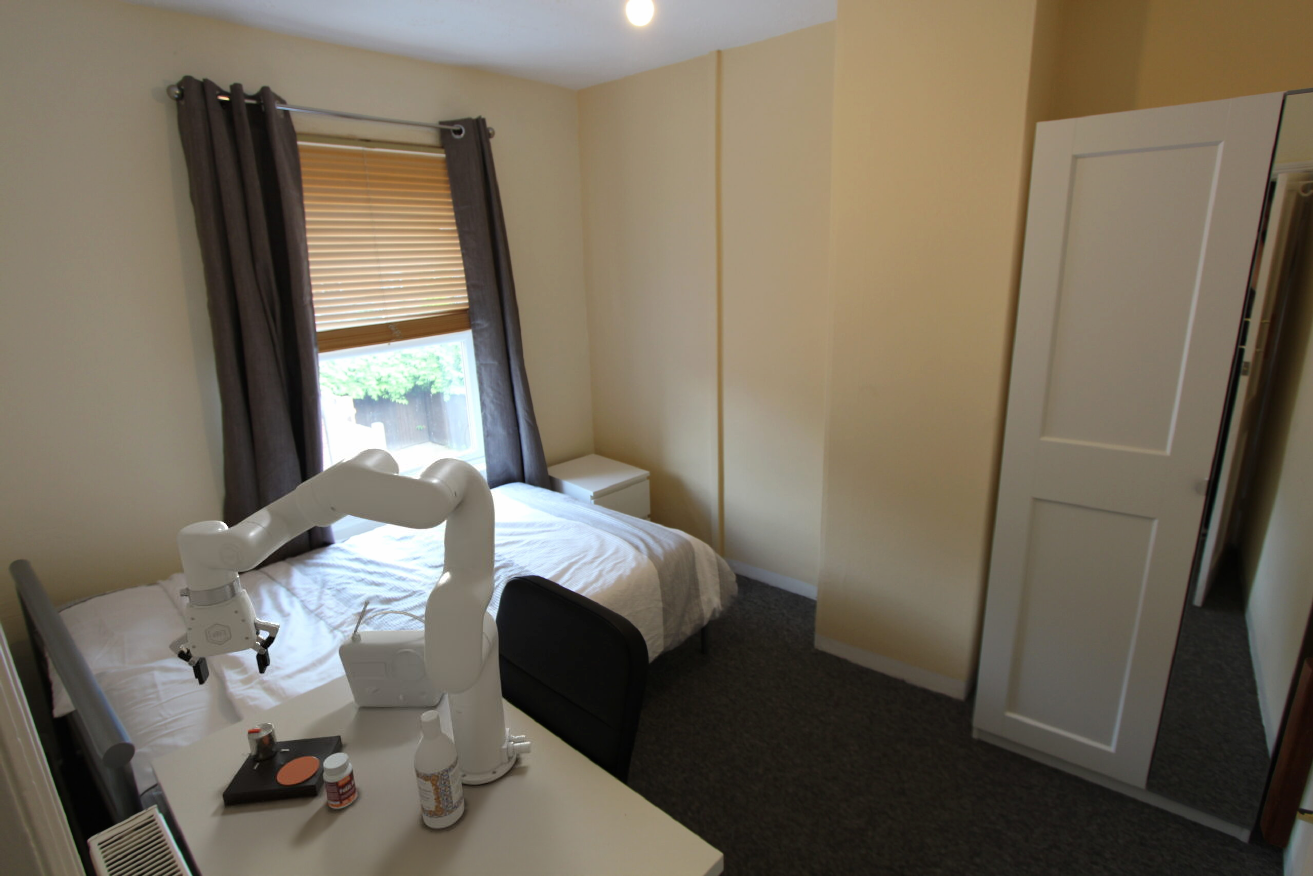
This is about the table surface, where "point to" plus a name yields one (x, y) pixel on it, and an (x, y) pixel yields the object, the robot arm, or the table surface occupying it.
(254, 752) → the hob knob
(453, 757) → the bath foam
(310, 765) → the burner ring
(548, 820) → the table surface
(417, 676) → the radio
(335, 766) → the pill bottle
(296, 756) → the hob
